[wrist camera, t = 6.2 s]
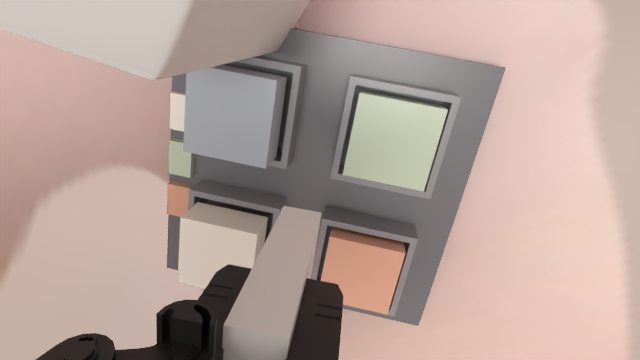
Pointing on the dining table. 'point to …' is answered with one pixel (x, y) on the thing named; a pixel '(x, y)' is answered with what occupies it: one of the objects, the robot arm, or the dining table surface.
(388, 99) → the sage key
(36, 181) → the dining table surface
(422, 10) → the dining table surface
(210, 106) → the slate key
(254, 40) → the milk carton
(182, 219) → the cream key
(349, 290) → the terracotta key
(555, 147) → the dining table surface
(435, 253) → the keypad
